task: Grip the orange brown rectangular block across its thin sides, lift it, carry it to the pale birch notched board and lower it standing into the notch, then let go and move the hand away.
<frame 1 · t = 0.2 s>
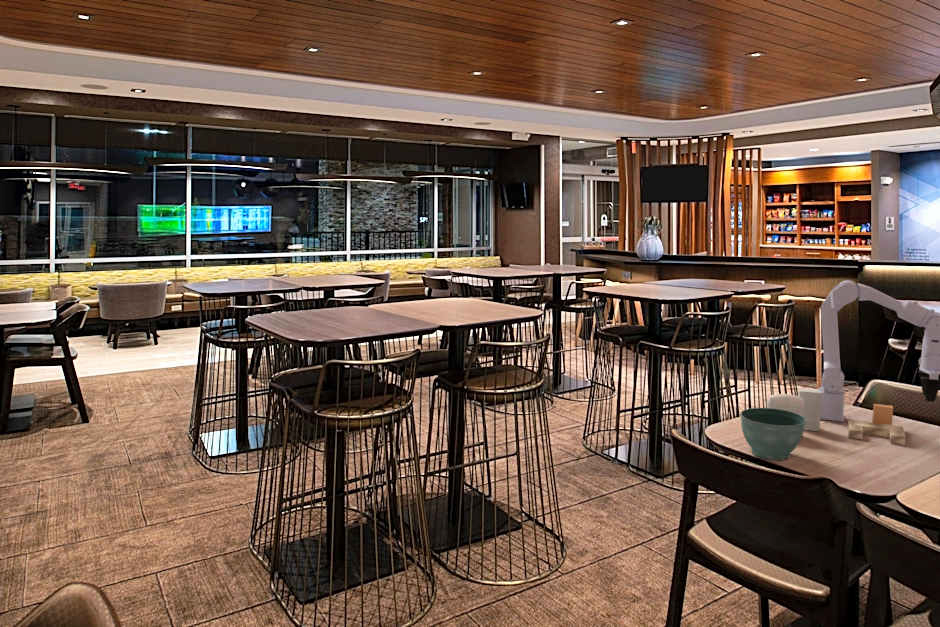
hand: (928, 398, 208), 10 cm above the table, tool pointing down, fingers open, 7 cm apart
orange brown rectangular block: (881, 428, 211), on the table
green bowl: (770, 455, 188), on the table
notched board: (875, 436, 203), on the table
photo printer: (783, 435, 205), on the table
skincare box: (807, 429, 211), on the table
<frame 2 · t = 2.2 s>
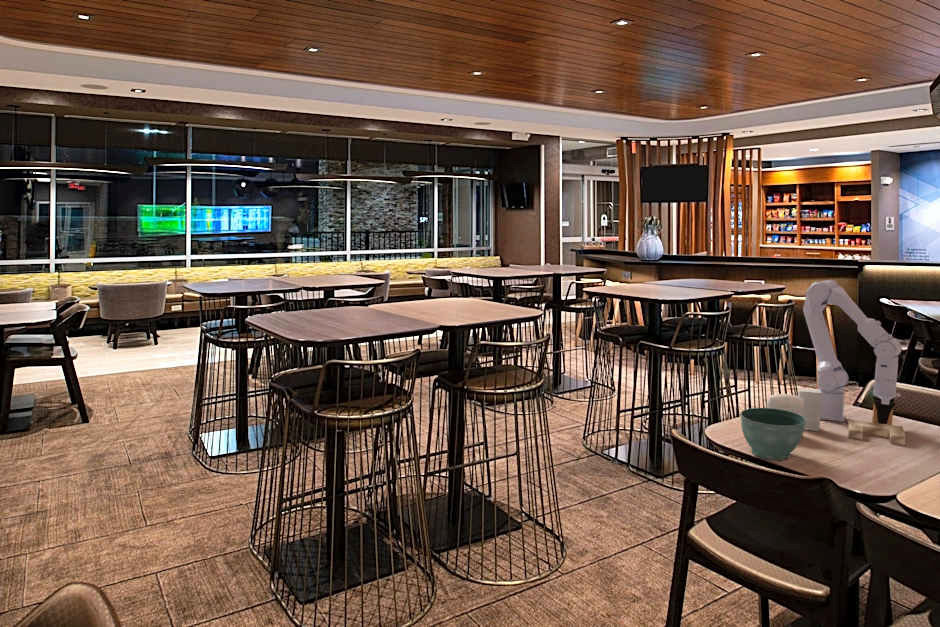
hand: (882, 421, 211), 2 cm above the table, tool pointing down, fingers closed on orange brown rectangular block, 3 cm apart
orange brown rectangular block: (881, 428, 211), on the table, touching gripper
everything else where it was.
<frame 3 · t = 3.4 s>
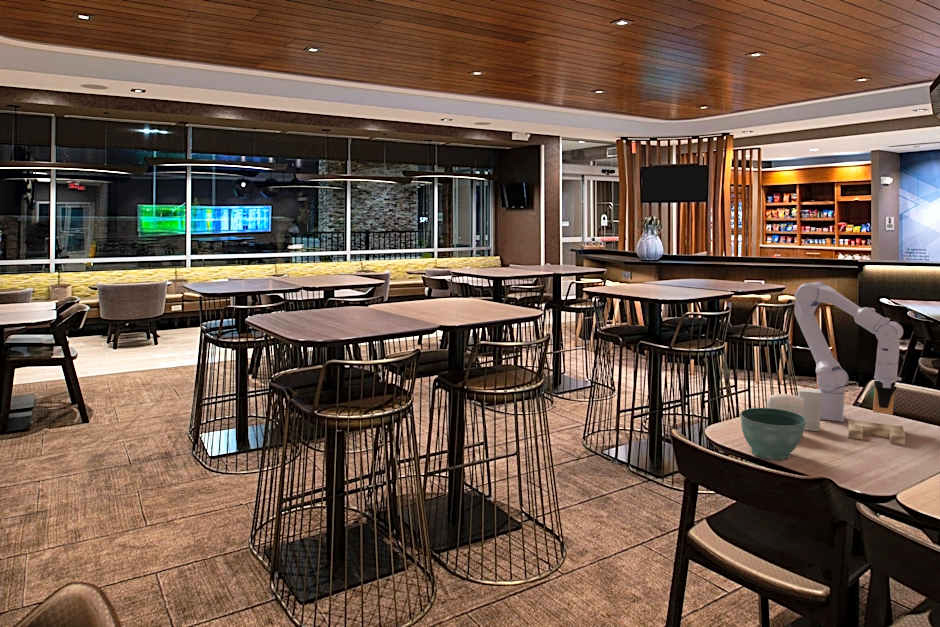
hand: (883, 406, 210), 7 cm above the table, tool pointing down, fingers closed on orange brown rectangular block, 3 cm apart
orange brown rectangular block: (882, 412, 210), point 5 cm above the table, touching gripper
everything else where it was.
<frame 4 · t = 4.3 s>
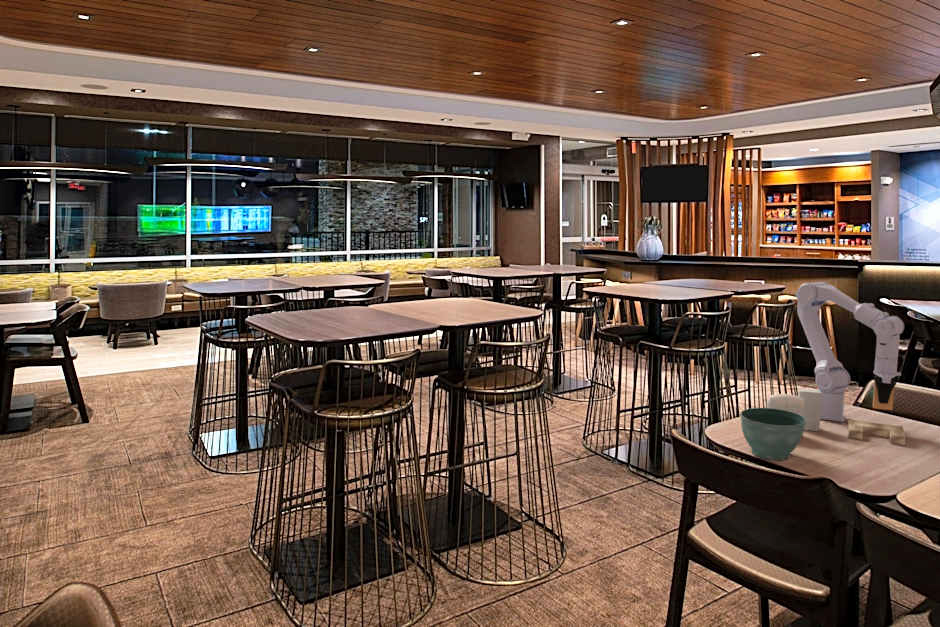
hand: (882, 401, 207), 9 cm above the table, tool pointing down, fingers closed on orange brown rectangular block, 3 cm apart
orange brown rectangular block: (882, 408, 208), point 7 cm above the table, touching gripper
everything else where it was.
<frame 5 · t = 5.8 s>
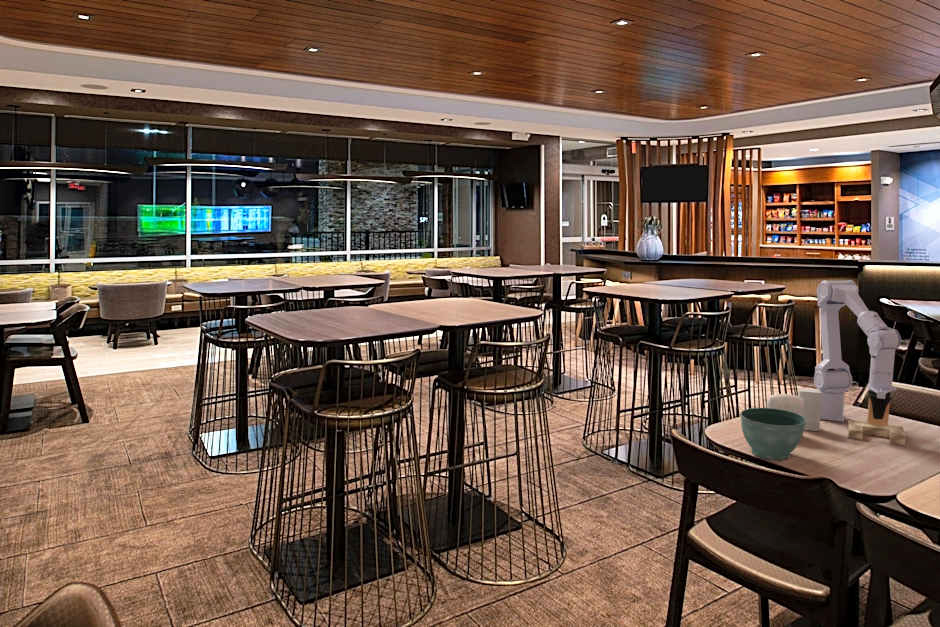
hand: (877, 417, 200), 6 cm above the table, tool pointing down, fingers closed on orange brown rectangular block, 3 cm apart
orange brown rectangular block: (877, 423, 200), point 5 cm above the table, touching gripper
everything else where it was.
when the fingers open (3 cm above the table, at t = 6.8 s): orange brown rectangular block drops 1 cm, on the table.
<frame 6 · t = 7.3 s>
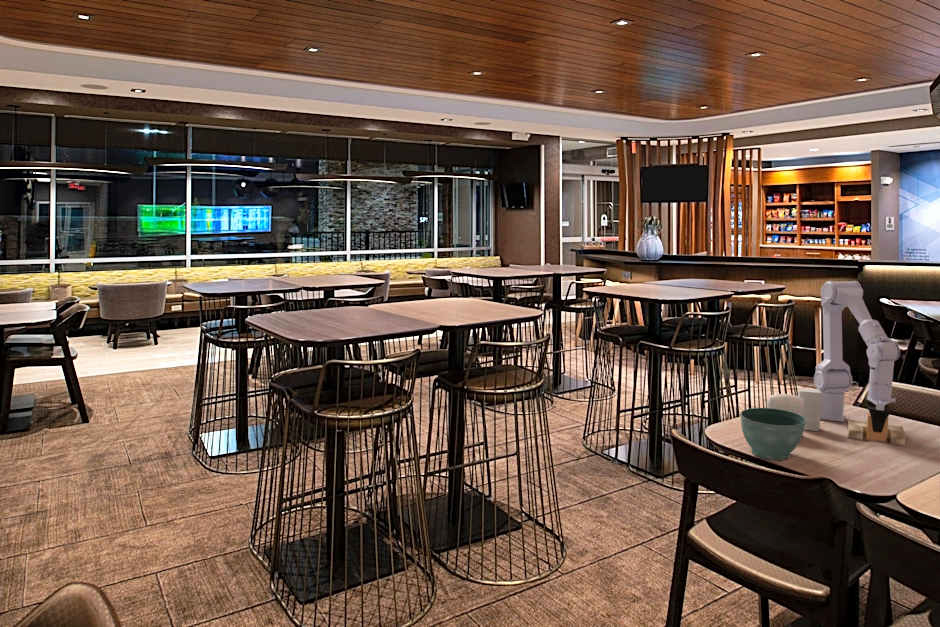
hand: (876, 428, 201), 3 cm above the table, tool pointing down, fingers open, 7 cm apart
orange brown rectangular block: (876, 438, 201), on the table
everything else where it was.
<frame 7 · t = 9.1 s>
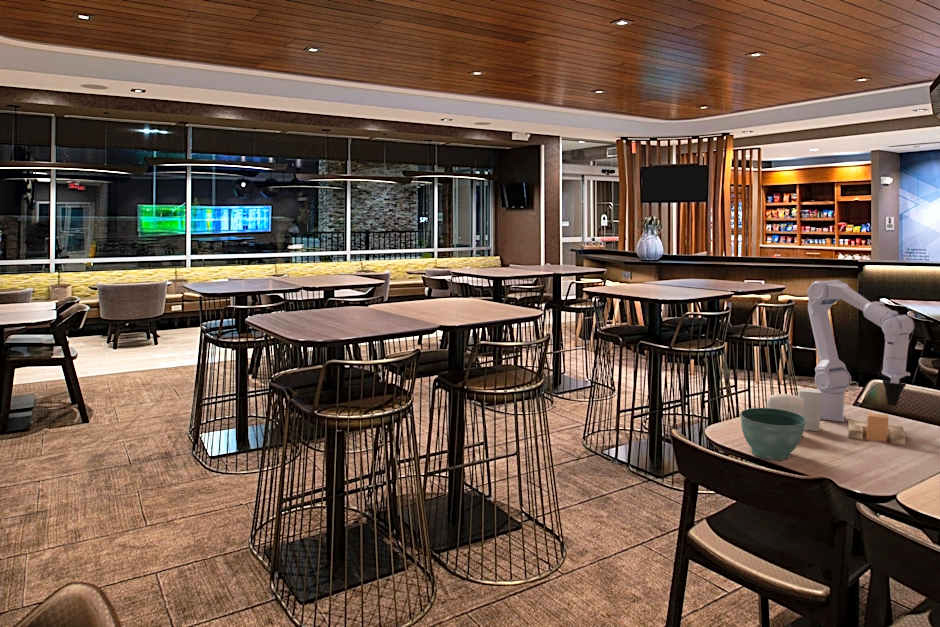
hand: (891, 402, 203), 10 cm above the table, tool pointing down, fingers open, 7 cm apart
nothing on the table moved.
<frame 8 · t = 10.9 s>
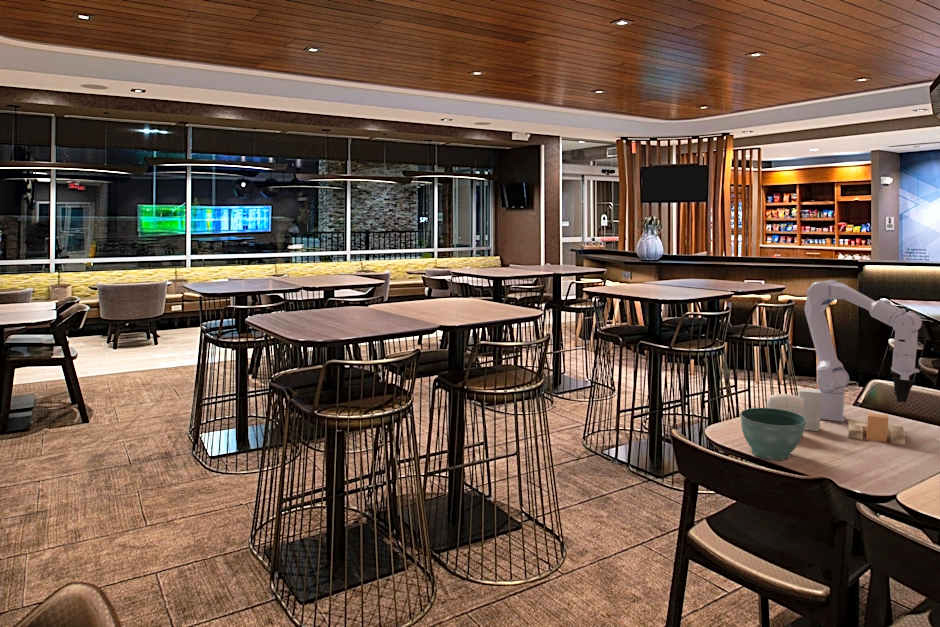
hand: (900, 398, 205), 10 cm above the table, tool pointing down, fingers open, 7 cm apart
nothing on the table moved.
at the end: orange brown rectangular block 0.1 cm from the target spot on the notched board, point 0.0 cm above the notched board's base; orange brown rectangular block tilted 0°; the gripper is holding nothing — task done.
